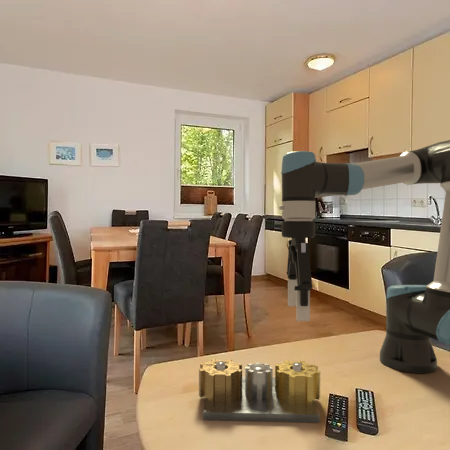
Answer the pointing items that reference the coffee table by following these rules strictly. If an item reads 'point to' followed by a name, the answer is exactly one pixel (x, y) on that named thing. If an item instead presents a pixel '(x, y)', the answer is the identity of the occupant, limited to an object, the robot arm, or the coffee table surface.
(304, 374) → the gear
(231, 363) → the seated gear
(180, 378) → the coffee table surface
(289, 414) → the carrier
